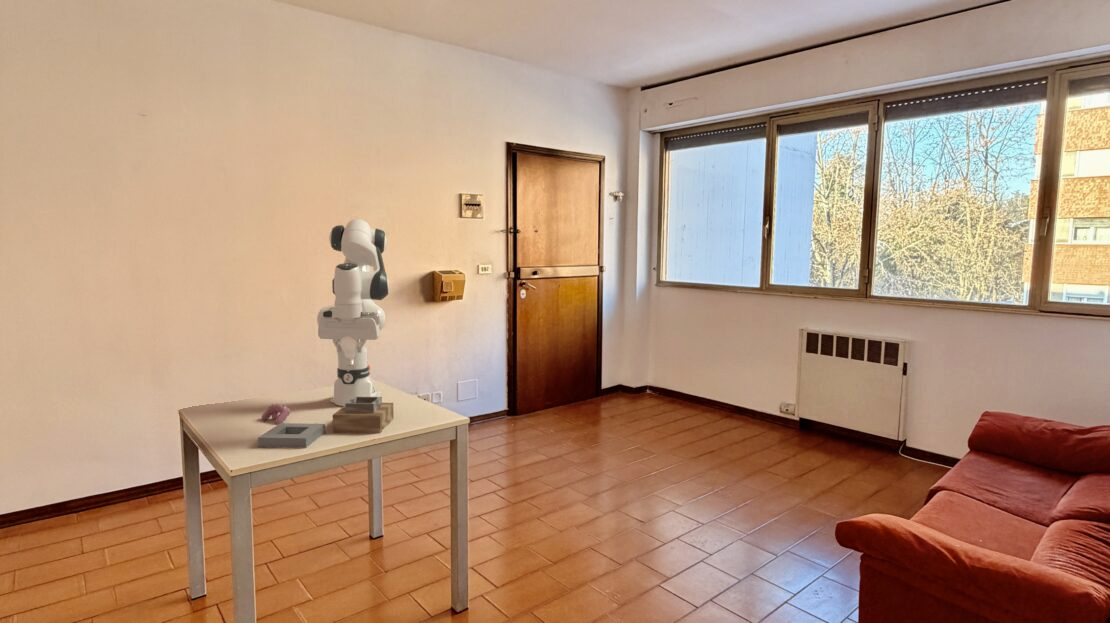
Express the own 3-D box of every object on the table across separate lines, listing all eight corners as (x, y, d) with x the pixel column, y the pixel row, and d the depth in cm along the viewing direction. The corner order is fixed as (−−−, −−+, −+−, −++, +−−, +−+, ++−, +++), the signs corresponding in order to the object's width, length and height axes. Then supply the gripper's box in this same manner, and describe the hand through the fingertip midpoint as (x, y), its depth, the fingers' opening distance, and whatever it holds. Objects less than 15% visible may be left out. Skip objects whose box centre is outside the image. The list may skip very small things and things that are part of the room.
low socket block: (280, 431, 201) (280, 423, 201) (325, 432, 201) (324, 423, 201) (258, 446, 187) (257, 437, 186) (306, 447, 186) (306, 438, 186)
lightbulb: (335, 366, 203) (335, 334, 201) (348, 363, 209) (347, 331, 207) (351, 368, 201) (351, 336, 199) (363, 365, 207) (363, 333, 205)
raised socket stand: (349, 418, 218) (349, 394, 217) (393, 418, 218) (393, 394, 217) (333, 432, 202) (332, 406, 201) (380, 432, 202) (379, 406, 201)
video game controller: (287, 426, 213) (294, 407, 215) (277, 423, 209) (284, 404, 211) (269, 422, 217) (276, 403, 219) (259, 419, 214) (266, 400, 216)
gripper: (382, 311, 205) (383, 350, 207) (323, 310, 206) (324, 349, 207) (376, 313, 199) (377, 354, 201) (315, 312, 199) (316, 353, 201)
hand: (349, 352), depth 204 cm, fingers closed on lightbulb, 6 cm apart
